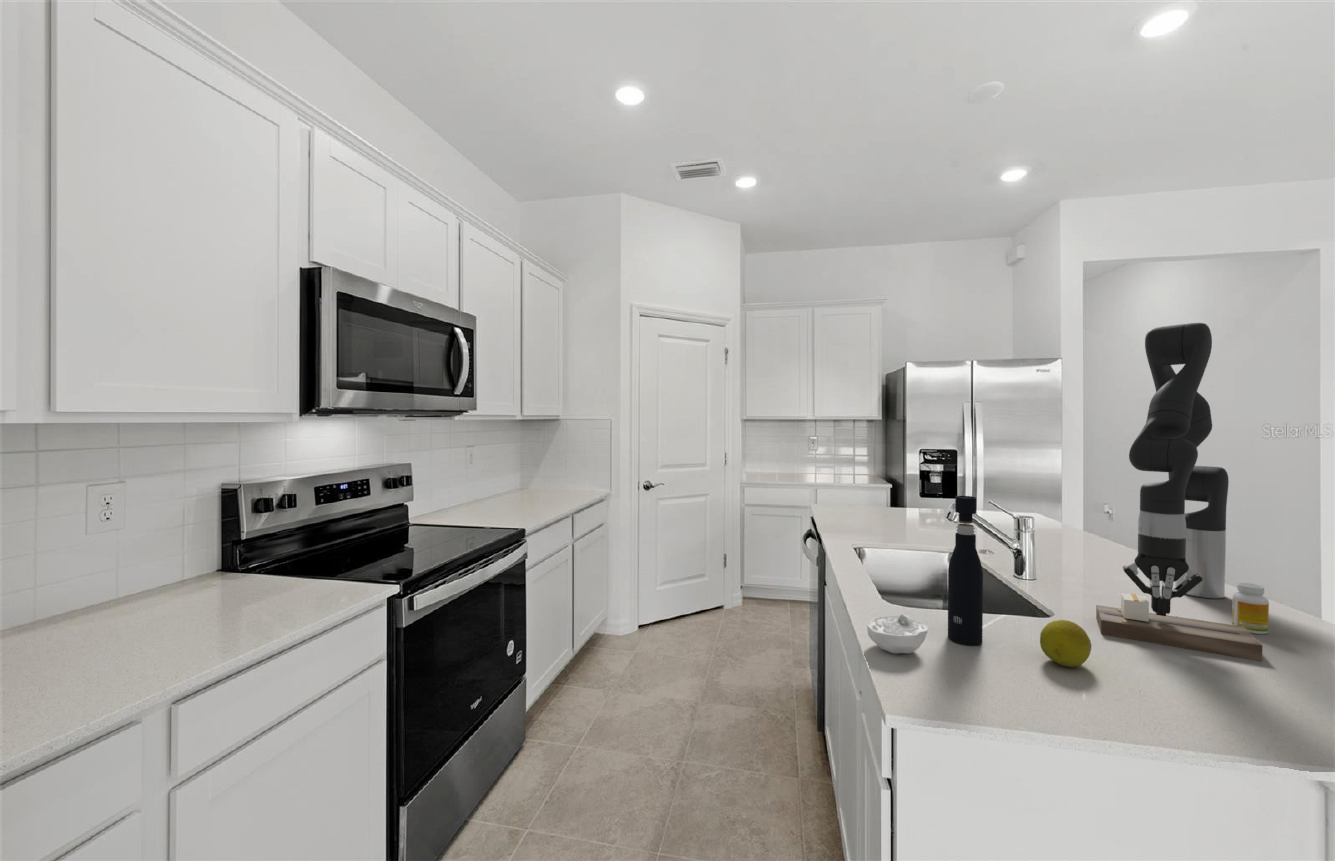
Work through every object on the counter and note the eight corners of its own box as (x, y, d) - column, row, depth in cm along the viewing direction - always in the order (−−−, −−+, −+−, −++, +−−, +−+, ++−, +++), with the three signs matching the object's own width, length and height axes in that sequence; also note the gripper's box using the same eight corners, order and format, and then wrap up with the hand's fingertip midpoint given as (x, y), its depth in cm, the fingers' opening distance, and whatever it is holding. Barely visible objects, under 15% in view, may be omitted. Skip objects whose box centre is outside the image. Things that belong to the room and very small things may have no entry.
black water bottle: (978, 635, 116) (979, 495, 116) (985, 647, 110) (986, 499, 110) (945, 631, 119) (946, 494, 118) (950, 643, 112) (951, 498, 112)
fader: (1120, 610, 121) (1121, 592, 121) (1144, 614, 119) (1144, 595, 119) (1124, 617, 117) (1124, 598, 117) (1148, 621, 115) (1149, 601, 115)
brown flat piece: (1096, 617, 126) (1096, 604, 126) (1243, 641, 113) (1243, 625, 113) (1101, 633, 117) (1101, 619, 117) (1262, 661, 104) (1262, 644, 103)
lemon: (1078, 679, 97) (1079, 634, 97) (1029, 663, 103) (1030, 621, 103) (1101, 663, 103) (1101, 621, 103) (1053, 649, 110) (1054, 609, 109)
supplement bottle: (1275, 635, 115) (1276, 590, 115) (1245, 633, 116) (1246, 588, 116) (1254, 626, 121) (1255, 582, 120) (1225, 624, 122) (1226, 581, 121)
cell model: (855, 643, 113) (855, 610, 113) (905, 637, 116) (905, 605, 116) (886, 664, 103) (886, 629, 103) (940, 657, 106) (940, 622, 106)
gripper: (1199, 533, 115) (1198, 615, 115) (1118, 526, 122) (1117, 603, 122) (1209, 540, 108) (1208, 626, 109) (1123, 533, 116) (1122, 614, 116)
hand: (1160, 614), depth 116 cm, fingers closed
